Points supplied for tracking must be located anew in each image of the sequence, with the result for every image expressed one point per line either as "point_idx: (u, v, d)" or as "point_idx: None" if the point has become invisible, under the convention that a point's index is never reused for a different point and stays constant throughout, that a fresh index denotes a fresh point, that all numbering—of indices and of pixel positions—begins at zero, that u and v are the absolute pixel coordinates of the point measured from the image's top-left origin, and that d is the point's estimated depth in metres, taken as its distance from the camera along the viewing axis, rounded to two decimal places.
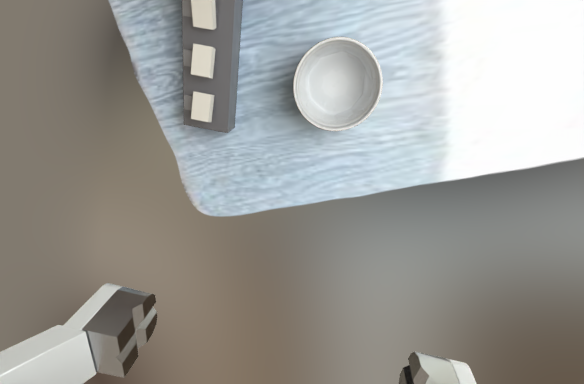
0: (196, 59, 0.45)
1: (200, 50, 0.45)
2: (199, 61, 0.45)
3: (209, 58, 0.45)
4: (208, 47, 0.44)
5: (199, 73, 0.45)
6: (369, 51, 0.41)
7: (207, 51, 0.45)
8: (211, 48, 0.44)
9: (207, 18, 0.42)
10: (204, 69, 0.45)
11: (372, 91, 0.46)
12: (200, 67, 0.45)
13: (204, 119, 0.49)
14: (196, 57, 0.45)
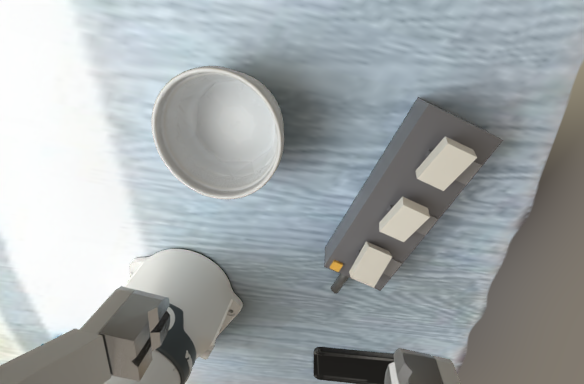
0: (409, 227, 0.31)
1: (398, 233, 0.32)
2: (406, 224, 0.31)
3: (390, 222, 0.31)
4: (385, 232, 0.32)
5: (416, 213, 0.30)
6: (171, 171, 0.31)
7: (389, 229, 0.32)
8: (381, 230, 0.32)
9: (368, 259, 0.34)
10: (405, 215, 0.30)
11: (175, 109, 0.31)
12: (409, 218, 0.30)
13: (452, 149, 0.26)
14: (408, 229, 0.31)
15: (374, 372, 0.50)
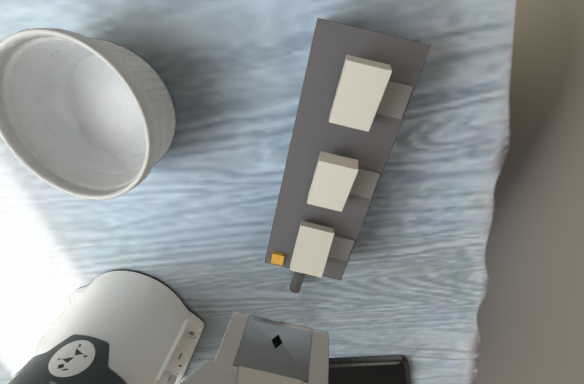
0: (340, 190, 0.23)
1: (330, 201, 0.24)
2: (334, 186, 0.23)
3: (314, 188, 0.24)
4: (314, 203, 0.25)
5: (339, 168, 0.22)
6: (38, 176, 0.25)
7: (317, 198, 0.24)
8: (309, 201, 0.25)
9: (304, 242, 0.26)
10: (327, 174, 0.23)
11: (31, 101, 0.25)
12: (334, 178, 0.23)
13: (355, 67, 0.19)
14: (340, 193, 0.24)
15: (375, 380, 0.42)
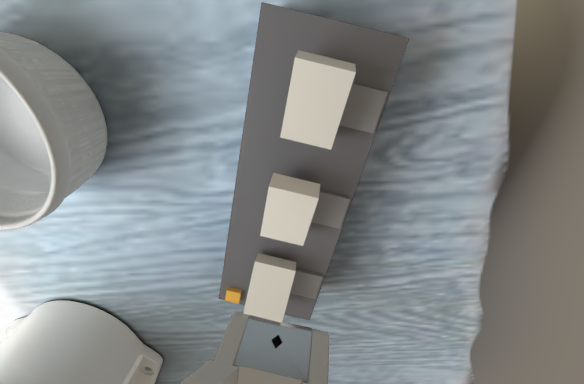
0: (299, 221, 0.19)
1: (287, 234, 0.19)
2: (291, 217, 0.18)
3: (267, 219, 0.19)
4: (269, 236, 0.20)
5: (294, 196, 0.17)
6: None
7: (271, 230, 0.19)
8: (262, 233, 0.20)
9: (259, 281, 0.21)
10: (280, 202, 0.18)
11: None
12: (290, 207, 0.18)
13: (307, 67, 0.14)
14: (299, 224, 0.19)
15: None
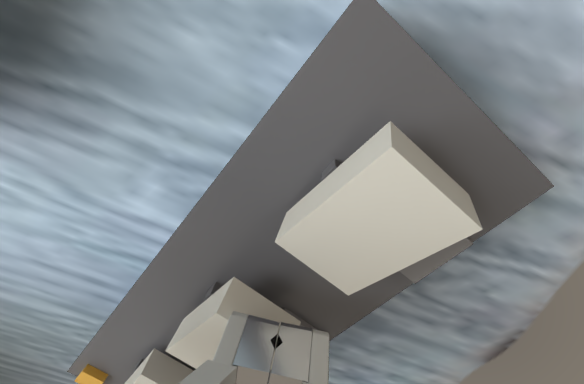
0: None
1: None
2: None
3: (188, 342, 0.11)
4: (180, 357, 0.11)
5: None
6: None
7: (187, 354, 0.11)
8: (170, 350, 0.11)
9: None
10: None
11: None
12: None
13: (402, 175, 0.06)
14: None
15: None
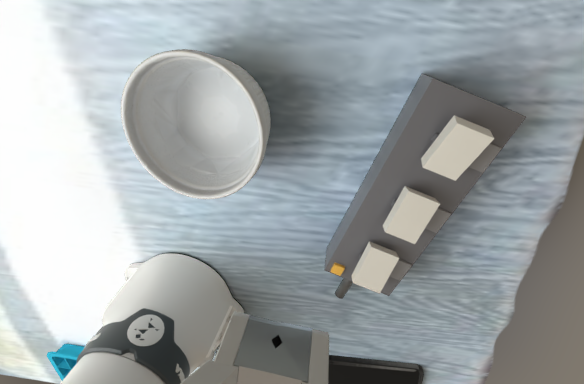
0: (419, 222, 0.27)
1: (407, 232, 0.27)
2: (415, 217, 0.26)
3: (396, 217, 0.27)
4: (392, 233, 0.27)
5: (424, 200, 0.26)
6: (148, 170, 0.28)
7: (395, 228, 0.27)
8: (387, 230, 0.27)
9: (371, 261, 0.30)
10: (412, 204, 0.26)
11: (150, 102, 0.28)
12: (417, 209, 0.26)
13: (462, 130, 0.22)
14: (418, 224, 0.27)
15: (389, 382, 0.46)
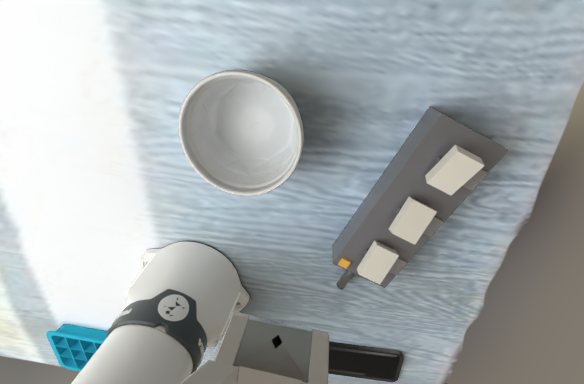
0: (420, 226, 0.33)
1: (409, 234, 0.33)
2: (417, 222, 0.32)
3: (402, 221, 0.33)
4: (397, 234, 0.33)
5: (424, 208, 0.32)
6: (194, 167, 0.33)
7: (401, 230, 0.33)
8: (394, 232, 0.33)
9: (375, 257, 0.35)
10: (415, 211, 0.32)
11: (200, 108, 0.32)
12: (419, 215, 0.32)
13: (461, 157, 0.28)
14: (419, 228, 0.33)
15: (373, 366, 0.53)
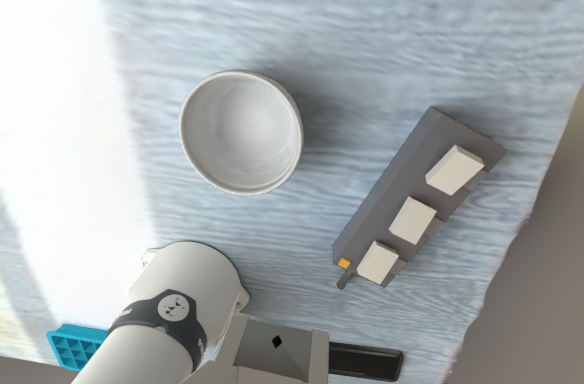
0: (420, 225, 0.33)
1: (410, 234, 0.33)
2: (417, 221, 0.32)
3: (402, 221, 0.32)
4: (398, 234, 0.33)
5: (424, 207, 0.32)
6: (194, 167, 0.33)
7: (401, 230, 0.33)
8: (394, 232, 0.33)
9: (375, 257, 0.35)
10: (415, 210, 0.32)
11: (200, 108, 0.32)
12: (419, 214, 0.32)
13: (461, 157, 0.28)
14: (419, 228, 0.33)
15: (373, 366, 0.53)
